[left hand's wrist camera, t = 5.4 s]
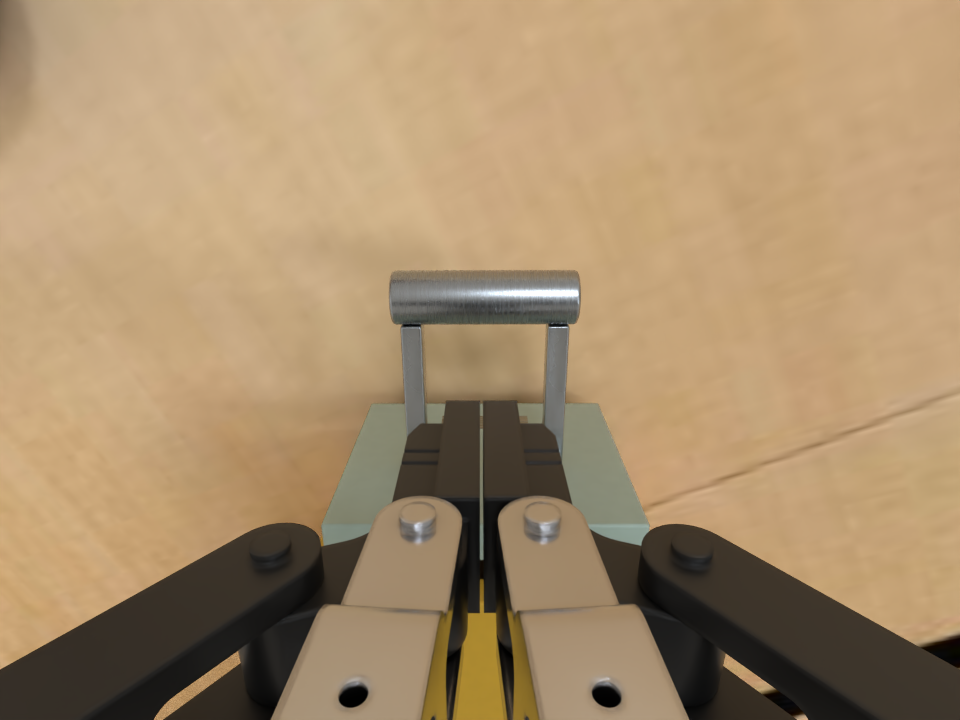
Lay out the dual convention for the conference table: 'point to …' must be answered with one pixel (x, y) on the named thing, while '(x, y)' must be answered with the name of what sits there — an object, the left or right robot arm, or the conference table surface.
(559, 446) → the drawer
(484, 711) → the cabinet
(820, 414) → the conference table surface
